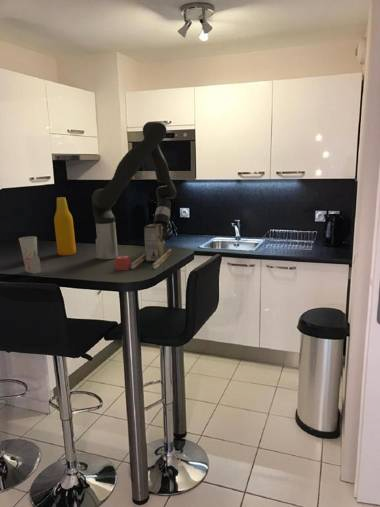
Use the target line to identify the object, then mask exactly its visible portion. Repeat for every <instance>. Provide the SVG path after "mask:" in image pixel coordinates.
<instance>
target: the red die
mask: <svg viewBox="0 0 380 507" xmlns="http://www.w3.org/2000/svg"><path fill="white" fill-rule="evenodd" d="M114 259H115V260H114V261H115V262H114V263H115V270H116V271H128V270H129V269H131V263H132V261H131V256H130V255H118V257H117V258H114Z"/></svg>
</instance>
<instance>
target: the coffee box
mask: <svg viewBox="0 0 380 507" xmlns="http://www.w3.org/2000/svg"><path fill="white" fill-rule="evenodd" d="M143 237H144V248H145V253H146V259H145V261H148V262H149V261H150V262H151V261H152V262H153V261H154V262H156V261H157V260H158V259H159V258H160V257H162V256H163V255H164V254H165V252H164V249H165V248H164V240H163V230H162V224H154V223H150V224H147V225H145V226H144V227H143Z"/></svg>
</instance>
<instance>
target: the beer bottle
mask: <svg viewBox="0 0 380 507" xmlns="http://www.w3.org/2000/svg"><path fill="white" fill-rule="evenodd" d="M73 219H74V218H73V215H72V214H71V212H70V211H69V207H68V203H67V199H66V197H64V196H63V197H56V210H55V215H54V218H53V221H54V222H53V223H54V230H55V232H54V233H55V239H56V248H57V254H58V255H59V256H73V255H75V254H76V253H77V247H76V246H77V245H76V239H75V238H76V237H75V229H74V228H75V227H74V220H73Z"/></svg>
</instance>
